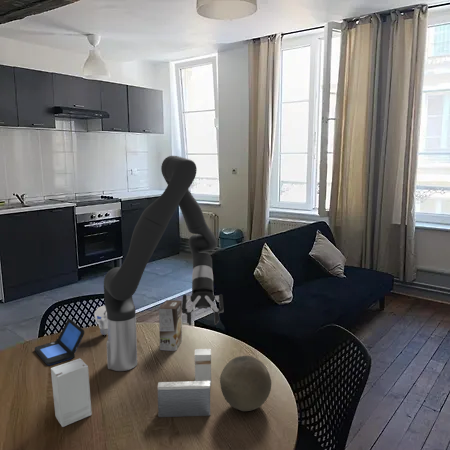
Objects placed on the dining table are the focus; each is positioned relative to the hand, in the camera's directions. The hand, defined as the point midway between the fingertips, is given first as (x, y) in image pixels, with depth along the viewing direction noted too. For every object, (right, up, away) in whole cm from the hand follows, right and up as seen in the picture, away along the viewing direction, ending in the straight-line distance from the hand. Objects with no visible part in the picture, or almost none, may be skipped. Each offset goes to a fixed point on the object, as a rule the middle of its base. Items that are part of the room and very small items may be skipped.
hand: (202, 324), depth 136 cm
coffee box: (-13, -12, +17) cm, 24 cm away
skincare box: (-34, -19, -26) cm, 47 cm away
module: (+1, -16, -9) cm, 18 cm away
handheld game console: (-52, -13, +11) cm, 55 cm away
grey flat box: (-4, -18, -25) cm, 31 cm away
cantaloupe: (+13, -18, -23) cm, 32 cm away
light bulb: (-40, -11, +25) cm, 49 cm away
